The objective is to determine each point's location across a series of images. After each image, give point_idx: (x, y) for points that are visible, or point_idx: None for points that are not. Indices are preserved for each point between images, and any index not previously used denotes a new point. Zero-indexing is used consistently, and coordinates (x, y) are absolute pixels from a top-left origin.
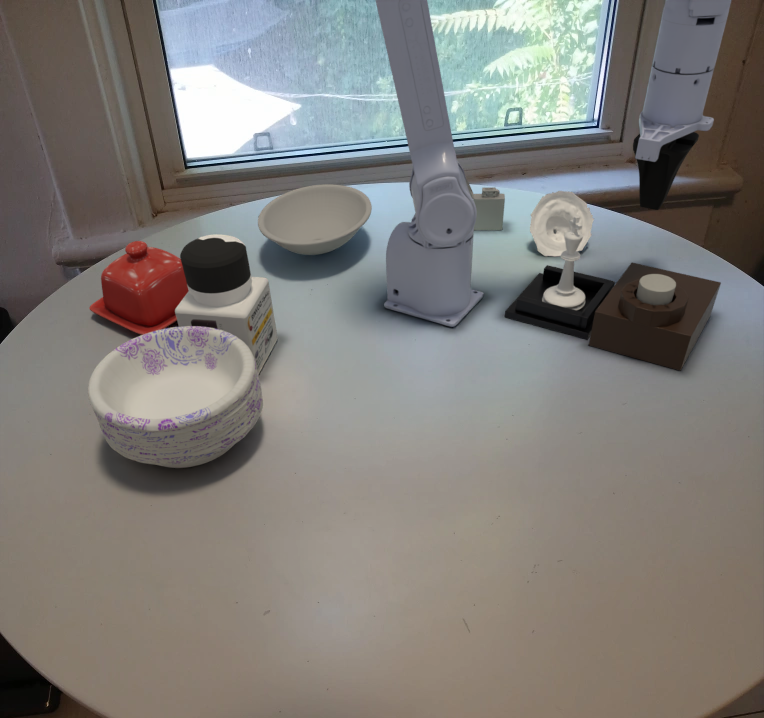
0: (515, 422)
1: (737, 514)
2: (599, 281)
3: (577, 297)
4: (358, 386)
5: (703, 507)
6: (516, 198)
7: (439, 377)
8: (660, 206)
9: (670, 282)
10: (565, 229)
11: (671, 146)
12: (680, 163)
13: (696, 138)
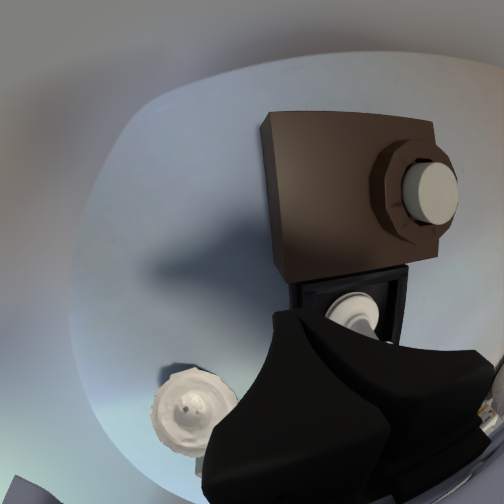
0: (496, 242)
1: (488, 73)
2: (316, 303)
3: (359, 306)
4: (480, 352)
5: (495, 93)
6: (133, 449)
7: (471, 323)
8: (305, 308)
9: (434, 173)
10: (177, 403)
11: (456, 433)
12: (328, 370)
13: (335, 448)
